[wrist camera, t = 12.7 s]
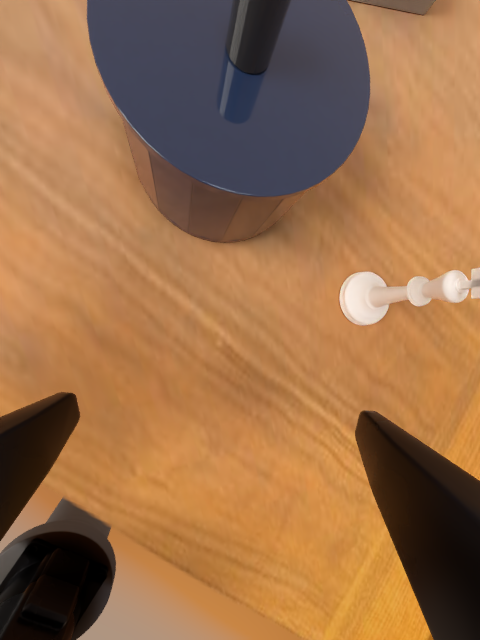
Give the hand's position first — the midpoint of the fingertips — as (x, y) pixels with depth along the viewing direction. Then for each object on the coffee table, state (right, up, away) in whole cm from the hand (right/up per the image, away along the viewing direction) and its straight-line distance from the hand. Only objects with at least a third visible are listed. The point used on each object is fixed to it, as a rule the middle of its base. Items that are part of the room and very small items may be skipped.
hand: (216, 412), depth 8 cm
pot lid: (+1, +16, +4) cm, 16 cm away
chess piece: (+12, +5, +15) cm, 20 cm away
